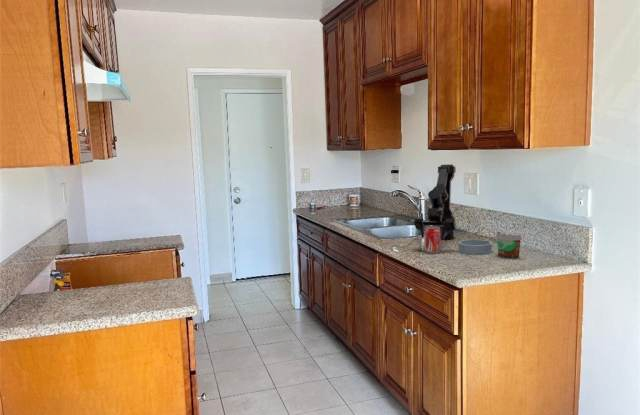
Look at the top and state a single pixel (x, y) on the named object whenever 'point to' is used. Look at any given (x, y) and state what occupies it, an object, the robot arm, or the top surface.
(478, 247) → the bowl
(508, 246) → the food container
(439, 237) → the soda can
